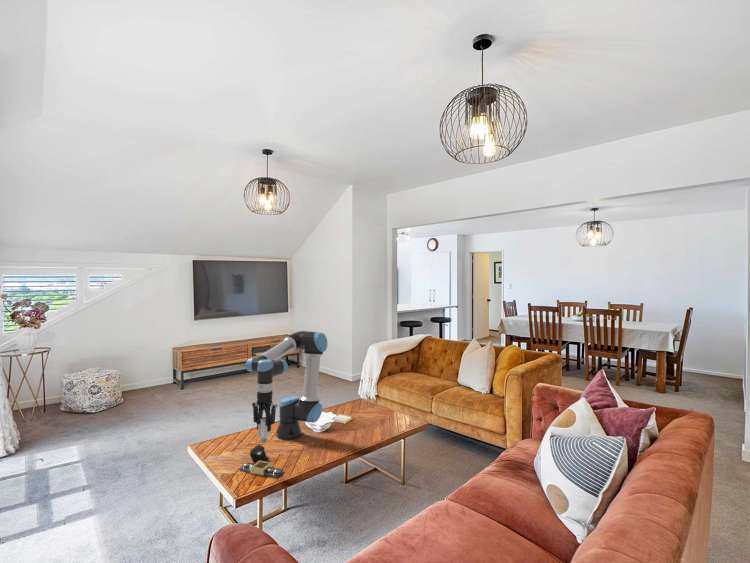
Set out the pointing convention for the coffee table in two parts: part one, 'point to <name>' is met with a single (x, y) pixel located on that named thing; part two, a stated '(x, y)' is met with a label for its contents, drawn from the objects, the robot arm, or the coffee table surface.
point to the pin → (263, 429)
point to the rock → (258, 453)
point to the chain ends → (261, 469)
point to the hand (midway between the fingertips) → (263, 437)
